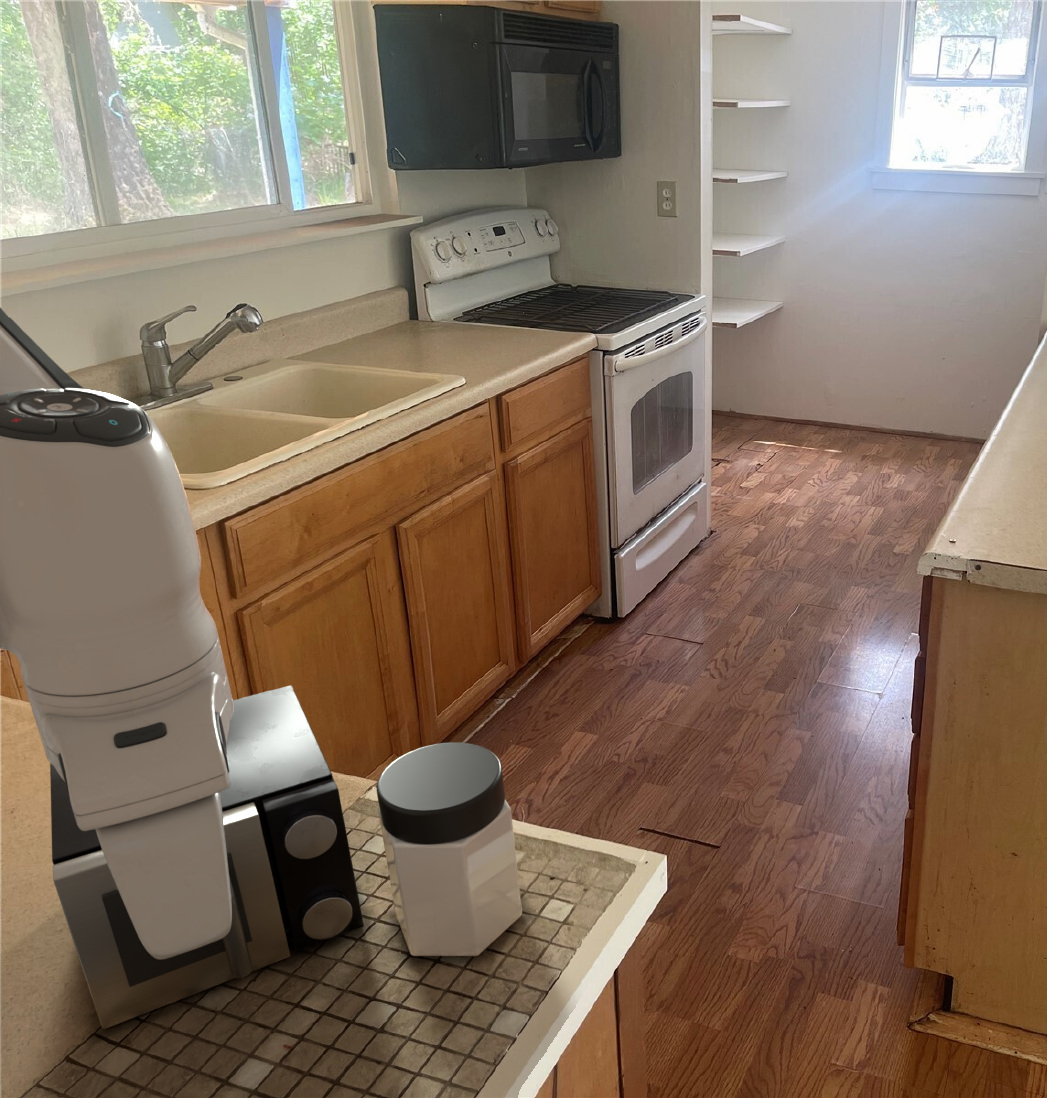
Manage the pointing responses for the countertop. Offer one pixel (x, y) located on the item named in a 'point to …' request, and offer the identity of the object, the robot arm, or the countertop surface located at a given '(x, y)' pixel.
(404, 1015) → the countertop surface
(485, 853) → the jar
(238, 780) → the oven
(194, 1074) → the countertop surface
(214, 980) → the oven door
